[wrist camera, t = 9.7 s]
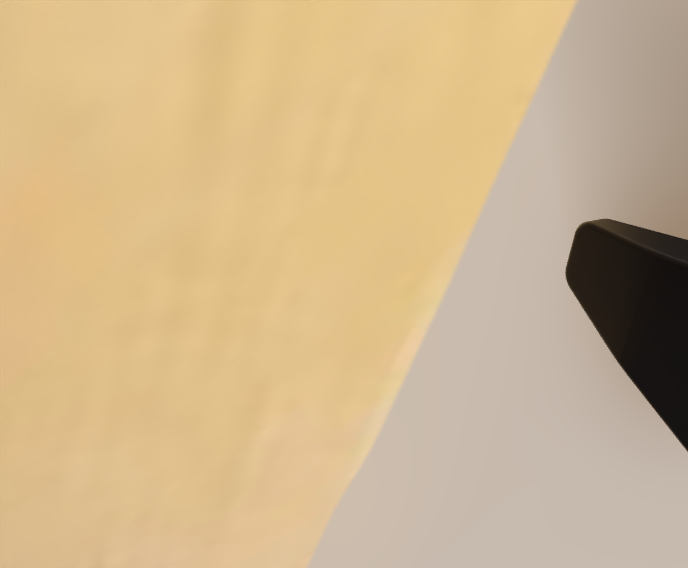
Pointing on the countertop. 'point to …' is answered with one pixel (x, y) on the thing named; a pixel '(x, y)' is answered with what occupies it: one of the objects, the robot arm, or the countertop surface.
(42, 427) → the countertop surface
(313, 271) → the countertop surface
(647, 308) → the robot arm
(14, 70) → the countertop surface
